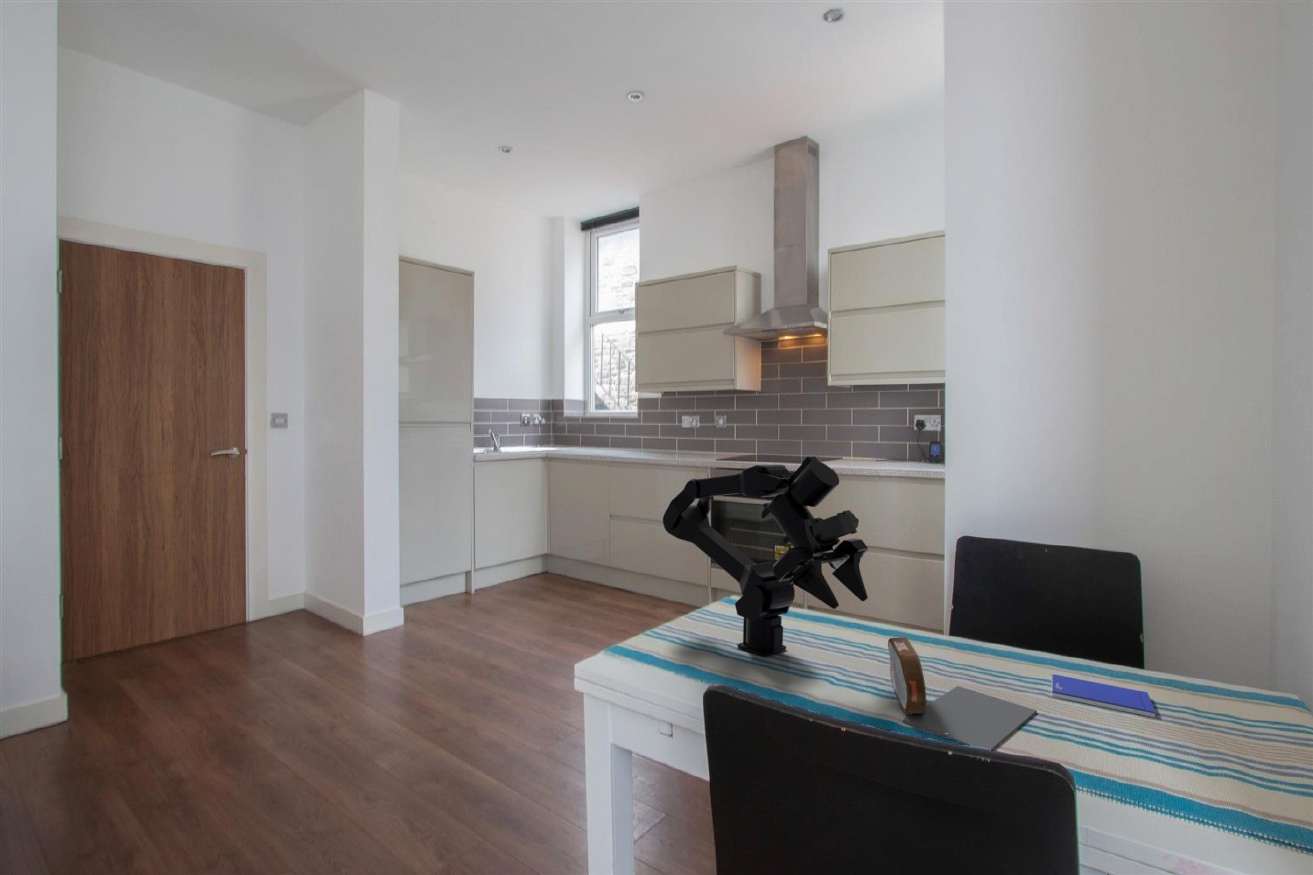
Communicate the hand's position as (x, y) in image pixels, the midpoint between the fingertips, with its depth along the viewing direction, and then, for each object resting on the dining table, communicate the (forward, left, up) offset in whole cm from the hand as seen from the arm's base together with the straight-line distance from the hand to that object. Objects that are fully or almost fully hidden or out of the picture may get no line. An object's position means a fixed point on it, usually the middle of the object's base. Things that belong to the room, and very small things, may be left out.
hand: (851, 603), depth 99 cm
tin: (+10, -1, -12) cm, 16 cm away
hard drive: (+28, +25, -13) cm, 40 cm away
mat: (+18, +2, -12) cm, 22 cm away
